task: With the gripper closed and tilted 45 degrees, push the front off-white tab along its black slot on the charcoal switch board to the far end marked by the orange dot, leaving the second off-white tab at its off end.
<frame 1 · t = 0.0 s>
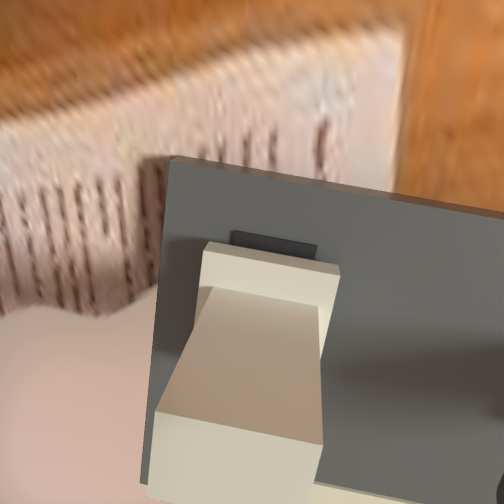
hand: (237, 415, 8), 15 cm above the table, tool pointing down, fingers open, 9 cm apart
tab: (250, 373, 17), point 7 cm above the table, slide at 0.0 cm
switch board: (413, 378, 24), on the table
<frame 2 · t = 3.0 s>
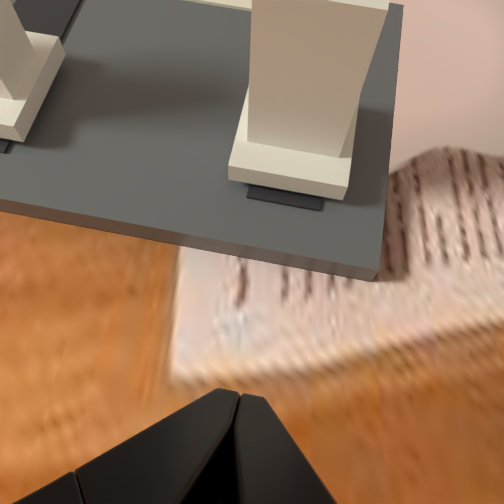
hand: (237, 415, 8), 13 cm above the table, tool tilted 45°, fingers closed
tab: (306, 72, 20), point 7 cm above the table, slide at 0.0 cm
switch board: (163, 97, 28), on the table
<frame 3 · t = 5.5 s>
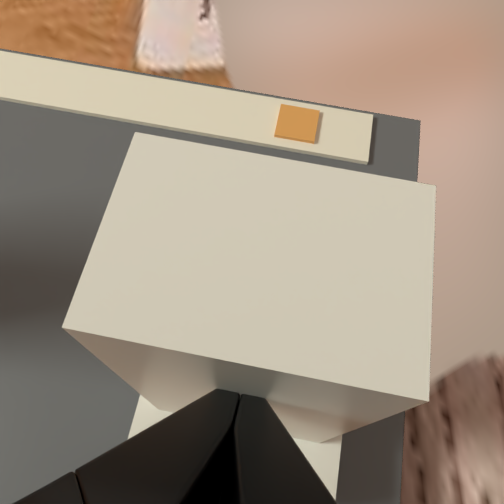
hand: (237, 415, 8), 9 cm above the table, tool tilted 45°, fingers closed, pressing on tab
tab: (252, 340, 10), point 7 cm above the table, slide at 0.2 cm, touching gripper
switch board: (53, 271, 18), on the table
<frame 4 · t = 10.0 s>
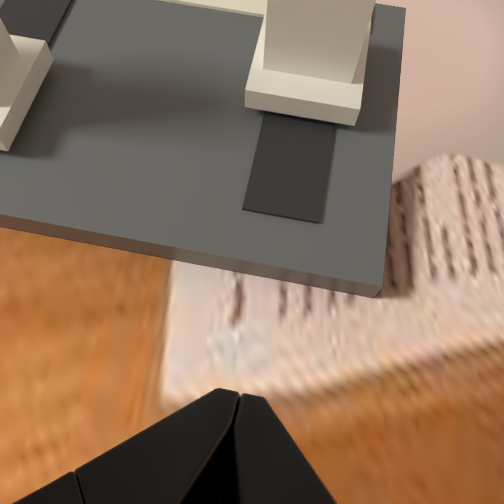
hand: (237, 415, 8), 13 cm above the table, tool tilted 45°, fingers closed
switch board: (156, 104, 27), on the table
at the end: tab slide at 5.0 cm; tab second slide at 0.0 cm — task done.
